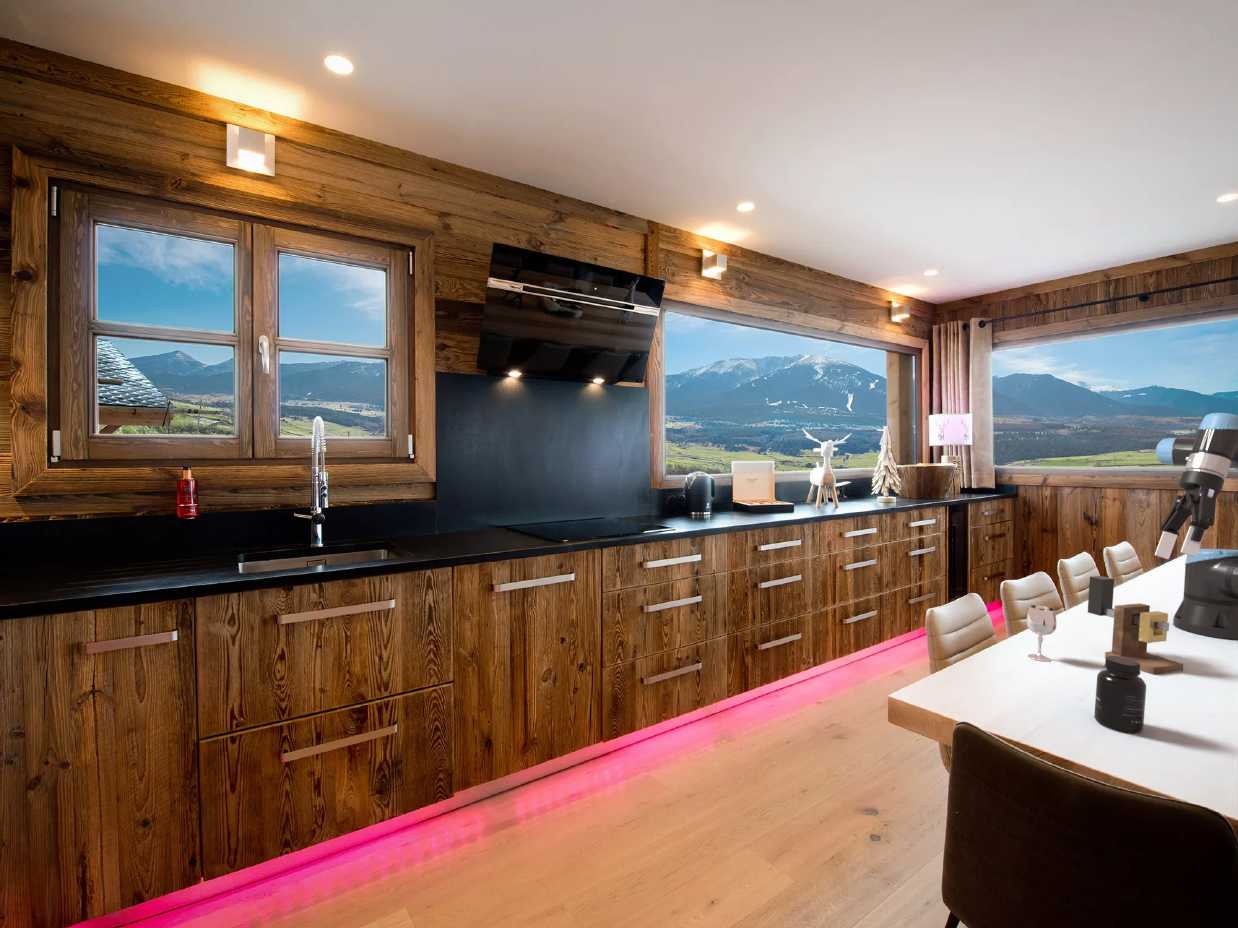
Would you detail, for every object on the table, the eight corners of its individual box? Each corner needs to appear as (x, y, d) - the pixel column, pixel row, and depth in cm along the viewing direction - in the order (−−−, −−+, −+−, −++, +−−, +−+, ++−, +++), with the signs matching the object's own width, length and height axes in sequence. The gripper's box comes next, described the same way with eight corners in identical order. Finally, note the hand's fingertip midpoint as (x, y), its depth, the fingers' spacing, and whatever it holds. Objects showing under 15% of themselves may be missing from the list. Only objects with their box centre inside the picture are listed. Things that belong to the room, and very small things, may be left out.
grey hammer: (1087, 612, 149) (1089, 576, 148) (1098, 611, 150) (1101, 575, 150) (1160, 632, 134) (1162, 592, 134) (1171, 630, 135) (1174, 591, 135)
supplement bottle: (1084, 716, 111) (1088, 653, 110) (1118, 716, 111) (1122, 653, 111) (1118, 735, 104) (1122, 667, 103) (1154, 734, 104) (1158, 667, 104)
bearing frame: (1104, 658, 142) (1108, 604, 141) (1133, 654, 145) (1137, 601, 145) (1153, 674, 133) (1157, 616, 132) (1183, 670, 136) (1187, 614, 135)
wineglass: (1059, 663, 138) (1062, 612, 137) (1031, 661, 139) (1034, 610, 138) (1046, 654, 143) (1049, 605, 143) (1020, 652, 144) (1023, 603, 144)
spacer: (1138, 640, 137) (1140, 612, 137) (1156, 638, 139) (1158, 611, 139) (1148, 642, 135) (1150, 615, 135) (1166, 640, 137) (1168, 613, 137)
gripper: (1161, 478, 158) (1134, 552, 157) (1211, 459, 135) (1180, 546, 135) (1197, 487, 155) (1169, 563, 154) (1254, 470, 132) (1222, 559, 131)
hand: (1174, 556), depth 144 cm, fingers open, 13 cm apart
